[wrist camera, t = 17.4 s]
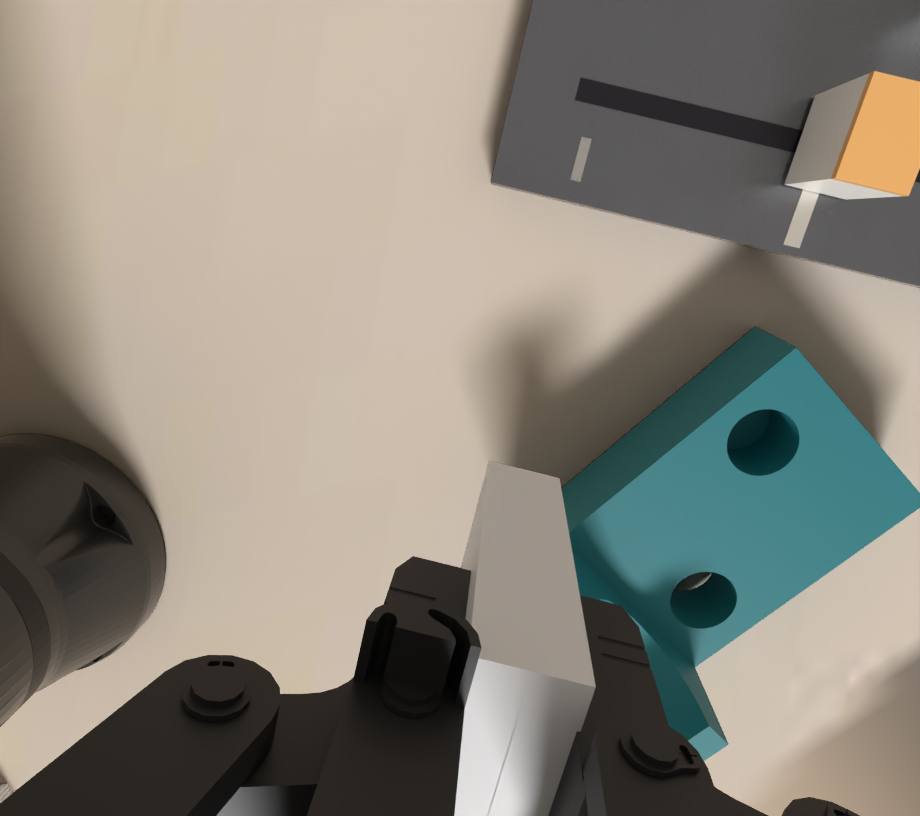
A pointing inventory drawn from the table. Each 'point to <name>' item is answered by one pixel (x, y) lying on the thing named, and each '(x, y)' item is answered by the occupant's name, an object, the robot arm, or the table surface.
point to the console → (708, 119)
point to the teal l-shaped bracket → (728, 512)
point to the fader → (861, 139)
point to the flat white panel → (5, 791)
